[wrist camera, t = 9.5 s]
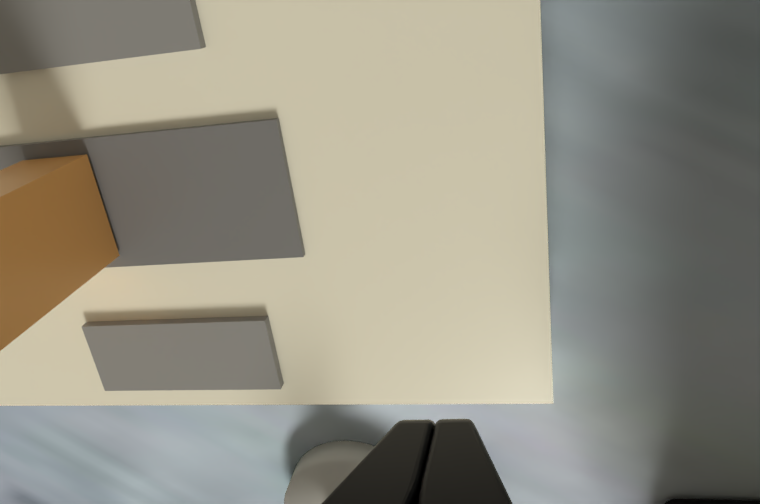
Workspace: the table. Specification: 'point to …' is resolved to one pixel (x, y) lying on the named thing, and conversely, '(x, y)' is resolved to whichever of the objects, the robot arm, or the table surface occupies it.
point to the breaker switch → (48, 238)
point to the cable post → (324, 470)
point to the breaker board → (290, 200)
